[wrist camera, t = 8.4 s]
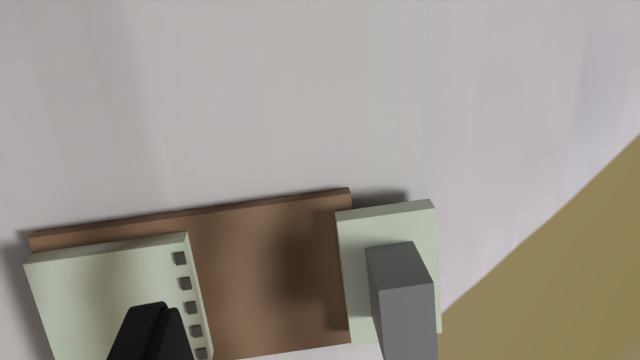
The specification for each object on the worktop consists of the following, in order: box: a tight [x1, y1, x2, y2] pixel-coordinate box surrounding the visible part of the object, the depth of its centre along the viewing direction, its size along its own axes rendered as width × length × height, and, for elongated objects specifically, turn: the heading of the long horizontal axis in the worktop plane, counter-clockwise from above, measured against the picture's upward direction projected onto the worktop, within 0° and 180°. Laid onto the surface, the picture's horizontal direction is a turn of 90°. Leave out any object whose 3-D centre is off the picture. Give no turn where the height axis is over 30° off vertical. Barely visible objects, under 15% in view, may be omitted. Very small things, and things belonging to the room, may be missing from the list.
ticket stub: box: [335, 199, 442, 360], centre depth 35 cm, size 6×9×6 cm, turn 7°
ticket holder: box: [23, 188, 352, 360], centre depth 38 cm, size 20×11×3 cm, turn 97°
